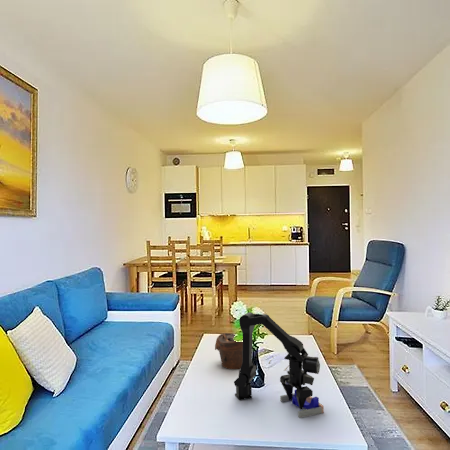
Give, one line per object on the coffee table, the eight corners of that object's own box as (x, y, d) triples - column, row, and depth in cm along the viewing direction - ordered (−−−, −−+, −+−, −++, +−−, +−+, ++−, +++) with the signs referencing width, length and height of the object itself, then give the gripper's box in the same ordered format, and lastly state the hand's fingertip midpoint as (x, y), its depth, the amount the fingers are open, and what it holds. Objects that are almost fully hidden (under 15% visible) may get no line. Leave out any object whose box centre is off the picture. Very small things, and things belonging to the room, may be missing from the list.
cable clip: (292, 403, 184) (292, 390, 184) (299, 401, 186) (299, 388, 186) (311, 414, 174) (311, 400, 174) (318, 411, 176) (318, 397, 176)
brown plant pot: (217, 358, 242) (216, 329, 242) (250, 359, 240) (250, 330, 240) (213, 370, 225) (212, 338, 224) (249, 371, 223) (248, 339, 222)
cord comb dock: (299, 417, 170) (299, 410, 170) (280, 400, 186) (280, 394, 186) (323, 412, 174) (323, 405, 174) (302, 396, 190) (302, 390, 190)
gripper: (323, 374, 173) (323, 410, 174) (300, 360, 191) (300, 393, 191) (300, 378, 169) (300, 415, 170) (279, 363, 187) (279, 396, 187)
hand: (295, 404), depth 180 cm, fingers open, 9 cm apart
